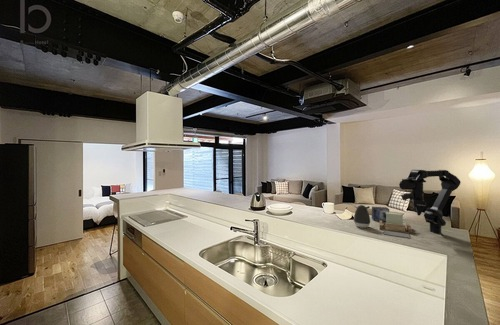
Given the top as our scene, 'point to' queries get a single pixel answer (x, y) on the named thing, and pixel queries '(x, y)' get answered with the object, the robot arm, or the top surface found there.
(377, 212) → the small box
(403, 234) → the grey mat
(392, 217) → the pale green block
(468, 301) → the top surface
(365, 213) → the dark grey egg figure
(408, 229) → the walnut rack
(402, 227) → the offcut bundle
